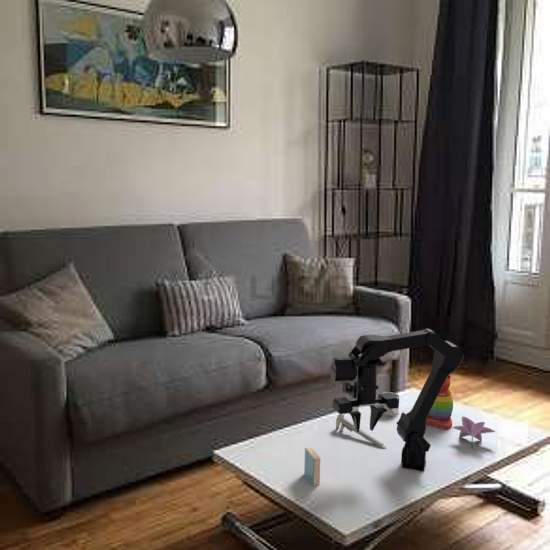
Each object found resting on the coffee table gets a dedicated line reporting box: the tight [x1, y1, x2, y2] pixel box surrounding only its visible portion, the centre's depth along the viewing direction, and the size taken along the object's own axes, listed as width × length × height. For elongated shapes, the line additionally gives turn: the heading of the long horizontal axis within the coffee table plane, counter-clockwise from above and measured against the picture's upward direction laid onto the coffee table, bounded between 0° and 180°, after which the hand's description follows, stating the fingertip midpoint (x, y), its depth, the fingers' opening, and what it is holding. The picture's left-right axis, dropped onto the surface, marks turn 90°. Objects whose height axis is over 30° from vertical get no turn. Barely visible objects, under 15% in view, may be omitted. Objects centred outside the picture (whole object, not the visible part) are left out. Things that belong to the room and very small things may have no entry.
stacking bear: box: [426, 374, 454, 430], centre depth 219 cm, size 11×10×18 cm
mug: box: [381, 391, 400, 417], centre depth 229 cm, size 10×7×7 cm, turn 149°
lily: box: [451, 416, 496, 450], centre depth 203 cm, size 12×12×10 cm
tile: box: [303, 446, 321, 487], centre depth 178 cm, size 2×7×8 cm, turn 17°
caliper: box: [335, 413, 387, 450], centre depth 206 cm, size 20×1×6 cm, turn 44°
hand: (364, 430), depth 183 cm, fingers open, 4 cm apart
